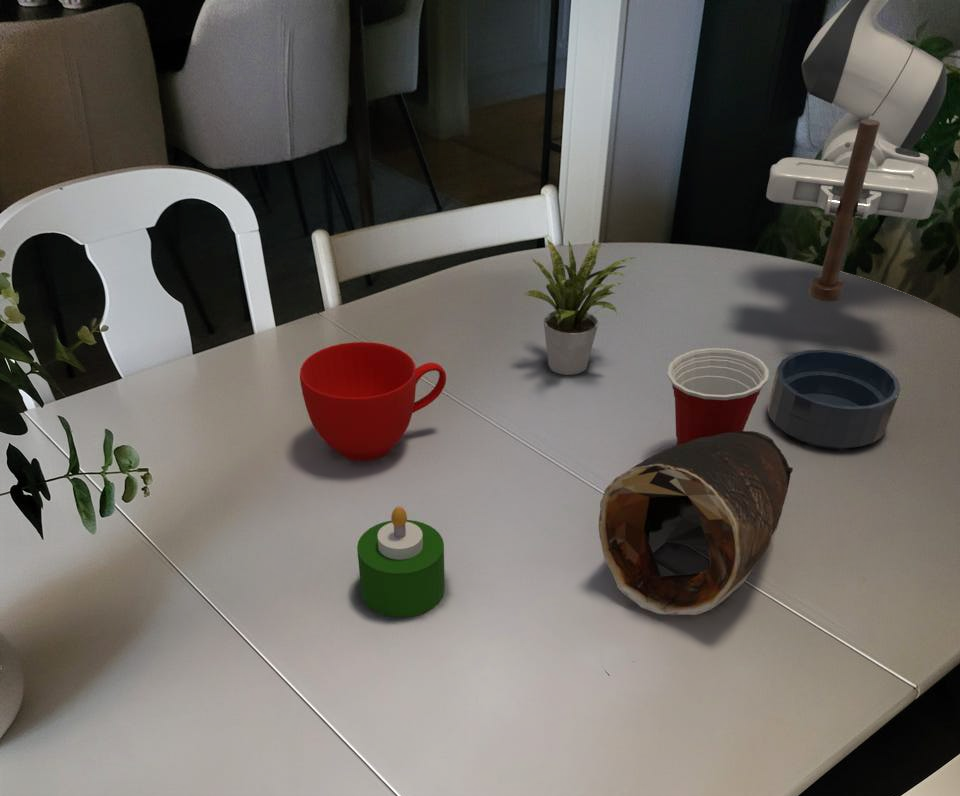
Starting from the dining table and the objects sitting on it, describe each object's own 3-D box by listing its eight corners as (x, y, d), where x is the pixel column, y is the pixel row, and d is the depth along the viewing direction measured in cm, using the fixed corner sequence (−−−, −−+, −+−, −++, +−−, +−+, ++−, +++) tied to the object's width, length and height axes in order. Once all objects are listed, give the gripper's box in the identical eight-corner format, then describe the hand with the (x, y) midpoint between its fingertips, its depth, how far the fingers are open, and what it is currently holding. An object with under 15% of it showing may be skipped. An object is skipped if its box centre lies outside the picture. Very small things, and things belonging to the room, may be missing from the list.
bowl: (857, 390, 126) (870, 347, 122) (904, 449, 116) (920, 405, 112) (751, 395, 125) (761, 352, 121) (790, 456, 115) (802, 411, 111)
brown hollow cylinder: (845, 410, 100) (756, 482, 82) (816, 546, 108) (729, 639, 90) (709, 385, 107) (600, 447, 89) (691, 514, 115) (588, 595, 97)
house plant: (619, 402, 123) (635, 276, 112) (511, 391, 125) (516, 266, 114) (626, 349, 134) (641, 229, 122) (526, 340, 135) (532, 220, 124)
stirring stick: (833, 287, 128) (879, 116, 114) (845, 301, 125) (893, 126, 111) (804, 288, 127) (846, 117, 113) (815, 302, 125) (860, 127, 110)
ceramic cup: (466, 456, 114) (466, 378, 107) (326, 486, 109) (317, 408, 102) (427, 403, 123) (425, 328, 116) (296, 429, 118) (286, 353, 111)
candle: (343, 591, 96) (334, 509, 90) (401, 552, 101) (396, 471, 94) (404, 629, 93) (400, 546, 86) (461, 586, 97) (461, 504, 90)
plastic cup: (649, 435, 118) (663, 343, 110) (739, 437, 118) (759, 345, 109) (658, 487, 110) (674, 392, 102) (754, 489, 110) (778, 394, 102)
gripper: (777, 138, 128) (765, 172, 118) (941, 156, 123) (943, 193, 114) (767, 188, 132) (755, 225, 122) (925, 207, 127) (925, 247, 118)
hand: (847, 210), depth 118 cm, fingers closed on stirring stick, 2 cm apart
